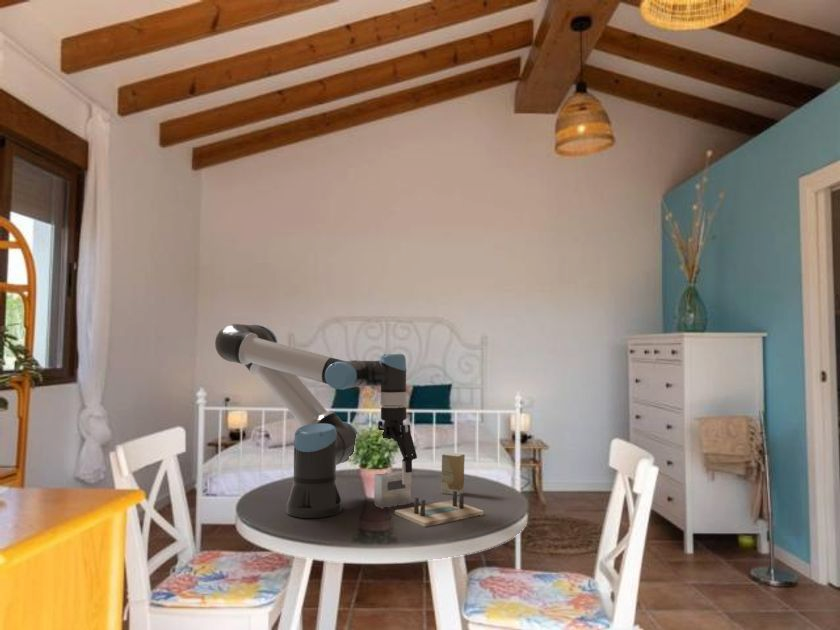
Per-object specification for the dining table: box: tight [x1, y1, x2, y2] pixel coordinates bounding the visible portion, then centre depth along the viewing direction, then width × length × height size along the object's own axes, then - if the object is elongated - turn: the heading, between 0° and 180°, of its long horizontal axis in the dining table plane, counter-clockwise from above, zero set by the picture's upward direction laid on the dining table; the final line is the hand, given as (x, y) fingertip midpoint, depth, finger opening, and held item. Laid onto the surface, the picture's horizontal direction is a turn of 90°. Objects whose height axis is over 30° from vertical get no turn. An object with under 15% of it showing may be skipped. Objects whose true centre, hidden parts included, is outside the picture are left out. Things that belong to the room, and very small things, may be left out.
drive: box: [373, 470, 412, 508], centre depth 173 cm, size 10×4×9 cm, turn 125°
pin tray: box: [394, 491, 485, 528], centre depth 163 cm, size 20×14×5 cm
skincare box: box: [440, 452, 466, 496], centre depth 187 cm, size 6×4×12 cm
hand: (394, 479), depth 173 cm, fingers open, 13 cm apart
